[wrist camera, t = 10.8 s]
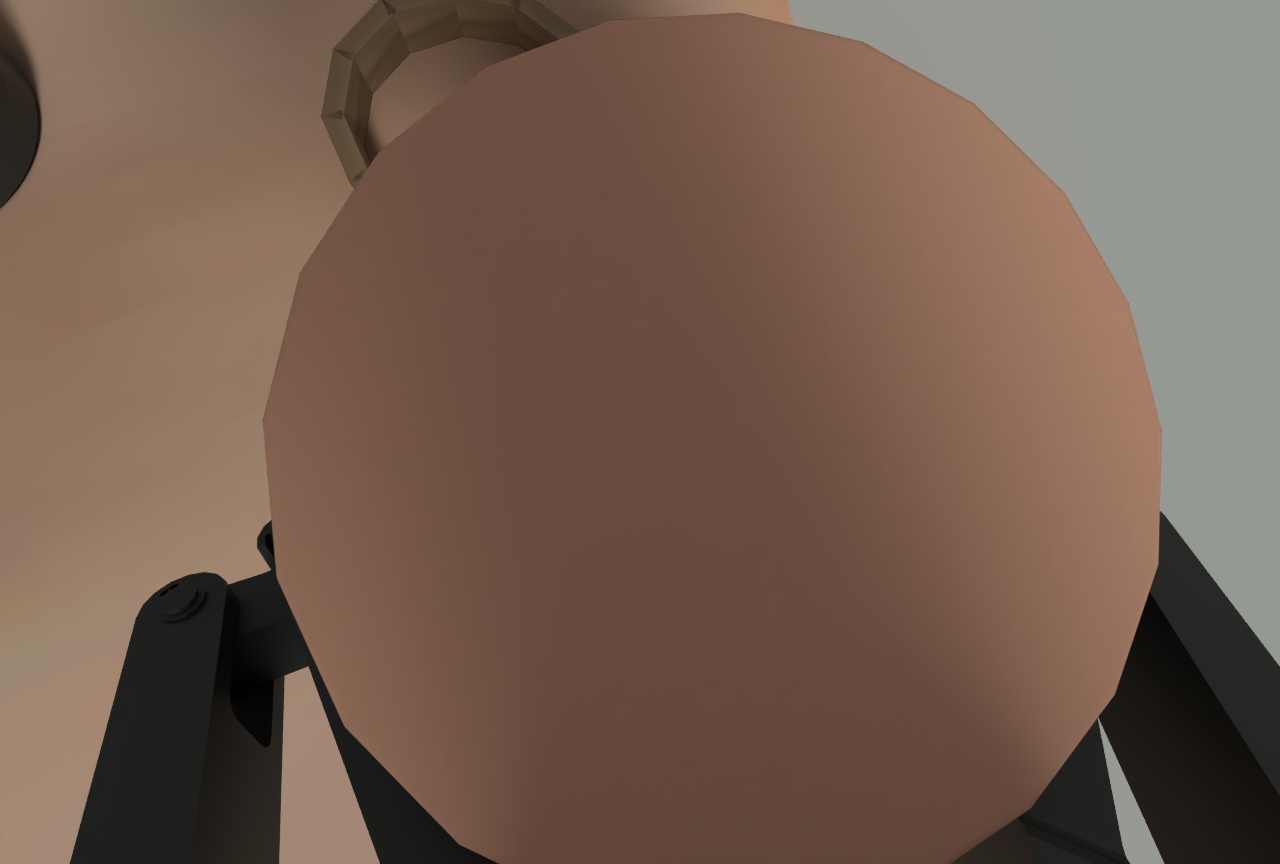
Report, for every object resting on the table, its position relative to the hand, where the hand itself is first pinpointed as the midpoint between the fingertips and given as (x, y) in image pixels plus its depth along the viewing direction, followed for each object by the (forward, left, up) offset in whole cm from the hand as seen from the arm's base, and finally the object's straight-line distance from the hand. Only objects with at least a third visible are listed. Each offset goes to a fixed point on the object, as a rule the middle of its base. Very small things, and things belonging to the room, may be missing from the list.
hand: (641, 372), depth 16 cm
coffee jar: (+2, -2, -8) cm, 9 cm away
